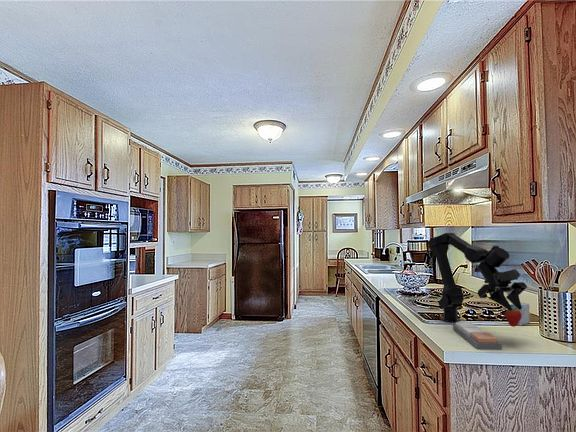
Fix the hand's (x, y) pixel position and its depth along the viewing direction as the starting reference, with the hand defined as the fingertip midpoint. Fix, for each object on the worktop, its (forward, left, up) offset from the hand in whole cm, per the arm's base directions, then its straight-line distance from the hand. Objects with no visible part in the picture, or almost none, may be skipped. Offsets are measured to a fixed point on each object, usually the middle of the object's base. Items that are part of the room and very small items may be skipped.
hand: (516, 309), depth 130 cm
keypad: (+2, -13, -13) cm, 19 cm away
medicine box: (-33, -6, -13) cm, 36 cm away
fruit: (-1, -1, -7) cm, 7 cm away
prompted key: (+8, -9, -12) cm, 17 cm away
